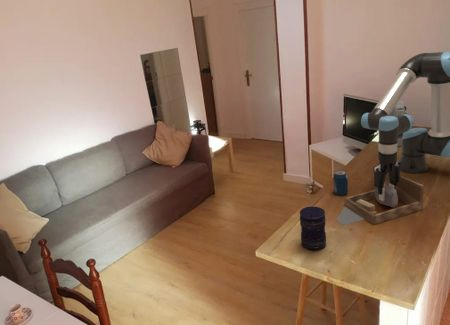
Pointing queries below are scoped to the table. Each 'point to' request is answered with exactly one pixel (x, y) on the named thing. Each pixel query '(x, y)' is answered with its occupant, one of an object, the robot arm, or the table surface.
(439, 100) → the robot arm
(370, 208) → the offcut short
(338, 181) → the soda can
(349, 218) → the mat
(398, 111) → the grey red bottle
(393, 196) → the stone block
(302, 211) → the storage jar
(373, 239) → the table surface
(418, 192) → the wooden tray
